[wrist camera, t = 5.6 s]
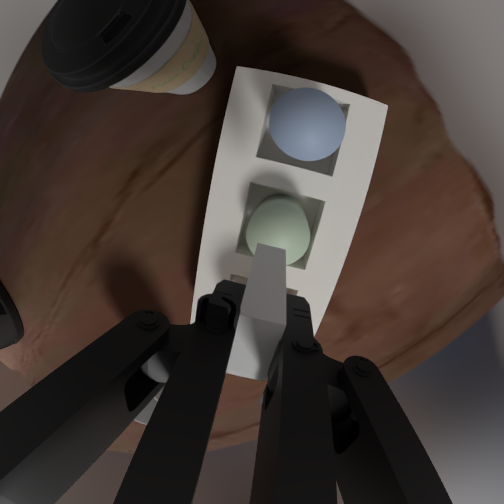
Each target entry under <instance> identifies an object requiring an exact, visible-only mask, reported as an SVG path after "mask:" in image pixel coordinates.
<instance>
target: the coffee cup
mask: <svg viewBox="0 0 504 504" xmlns="http://www.w3.org/2000/svg"><path fill="white" fill-rule="evenodd" d="M40 48H41V57H42V60H43V63H44V64H45V66H46V67H47V68H48V69H49V70H50V73H51V75H52V76H53V78H54V79H55V80H56V81H57V82H58V83H59V84H61V85H63V86H65V87H68V88H69V89H71V90H74V91H78V92H93V91H98V90H102V89H105V88H107V87H110V88H116V89H126V90H137V91H146V92H155V93H162V92H167V93H174V94H189V93H192V92H195V91H197V90H198V89H200V88H201V87H203V86H204V85H205V84H206V83H207V82H208V81H209V79H210V78H211V77H212V75H213V73H214V71H215V68H216V57H215V55H214V53H213V50H212V48H211V46H210V44H209V39H208V36H207V34H206V32H205V30H204V28H203V26H202V24H201V22H200V20H199V18H198V16H197V14H196V12H195V10H194V8H193V6H192V4H191V2H190V1H189V0H58V1H57V3H56V4H55V6H54V7H53V9H52V11H51V13H50V15H49V17H48V19H47V21H46V24H45V26H44V29H43V33H42V37H41V47H40Z"/></svg>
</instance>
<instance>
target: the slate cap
mask: <svg viewBox="0 0 504 504" xmlns="http://www.w3.org/2000/svg"><path fill="white" fill-rule="evenodd" d="M269 129H270V133H271V136H272V138H273V140H274V142H275V143H276V145H277V146H278V147H279V148H280V149H281V150H282V151H283V152H284V153H286V154H287V155H289V156H291V157H293V158H295V159H299V160H303V161H315V160H320V159H323V158H325V157H327V156H329V155H331V154H332V153H333V152H334V151H336V150H337V148H338V147H339V146H340V144H341V143H342V141H343V138H344V135H345V130H346V123H345V117H344V114H343V111H342V109H341V108H340V106H339V105H338V103H337V102H336V101H335V100H334V99H333V98H332V97H331V96H330V95H328V94H326V93H325V92H323V91H321V90H318V89H314V88H306V87H305V88H296V89H293V90H290V91H288V92H286V93H285V94H283V95H282V96H281V97H279V98H278V100H277V101H276V102H275V103H274V105H273V107H272V109H271V112H270V115H269Z"/></svg>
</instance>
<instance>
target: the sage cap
mask: <svg viewBox="0 0 504 504" xmlns="http://www.w3.org/2000/svg"><path fill="white" fill-rule="evenodd" d="M246 240H247V244H248V247H249V249H250V251H251V252H252V253H253V255H254V254H255V250H256V247H257V243H261V244H265V245H269V246H273V247H277V248H281V249H285V250H286V265H289V264H292V263H294V262H295V261H297V260H298V259H300V258H301V257H302V256H303V255H304V253H305V252H306V250H307V248H308V246H309V242H310V230H309V226H308V222H307V218H306V214H305V211H304V208H303V206H302V205H301V203H300V202H299V201H298V200H296V199H295V198H294V197H292V196H290V195H287V194H273V195H270V196H268V197H266V198H264V199H263V200H262V201H261V202H260V203H259V205H258V206H257V208H256V210H255V212H254V214H253V216H252V218H251V219H250V221H249V224H248V226H247V231H246Z"/></svg>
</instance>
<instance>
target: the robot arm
mask: <svg viewBox="0 0 504 504" xmlns="http://www.w3.org/2000/svg"><path fill="white" fill-rule="evenodd" d="M23 336H24V329H23V325H22V322H21V319H20V316H19V314H18V312H17V309H16V307H15V305H14V304H13V302H12V300H11V298H10V297H9V295H8V294H7V292H6V291H5V289H4V288H3V287H2V286H1V284H0V349H3V348H5V347H8V346H10V345H12V344H16V343H17V342H19V341H20V340H21V339H22V338H23ZM226 373H229V374H234V375H238V376H242V377H247V378H251V379H256V380H261V381H265V380H266V378H267V375H268V381H267V385H266V387H265V390H264V392H263V395H262V397H261V399H260V402H259V404H261V405H262V411H261V419H260V428H259V436H258V444H257V452H256V460H255V467H254V476H253V482H252V490H251V496H250V503H249V504H337V490H336V481H337V484H338V487H339V490H340V493H341V496H342V499H343V502H344V504H452V501H451V499H450V497H449V495H448V493H447V491H446V489H445V487H444V485H443V483H442V481H441V479H440V477H439V475H438V473H437V471H436V469H435V467H434V466H433V464H432V462H431V460H430V458H429V456H428V455H427V453H426V450H425V449H424V447H423V445H422V443H421V441H420V440H419V438H418V436H417V434H416V432H415V430H414V429H413V427H412V425H411V424H410V422H409V420H408V418H407V416H406V415H405V413H404V411H403V410H402V408H401V406H400V404H399V403H398V401H397V399H396V397H395V396H394V394H393V392H392V391H391V389H390V387H389V386H388V384H387V382H386V381H385V379H384V377H383V376H382V374H381V372H380V371H379V369H378V368H377V366H376V365H375V364H374V363H373V362H371V361H370V360H369V359H367V358H364V357H361V356H351V357H348V358H347V359H346V360H345V361H344V363H342V362H339V361H337V360H334V359H332V358H330V357H328V356H326V355H324V354H323V350H322V347H321V345H320V344H319V343H318V341H317V340H315V339H314V333H313V325H312V319H311V311H310V304H309V303H308V302H307V300H306V299H305V298H304V297H300V296H296V295H291V294H287V293H286V250H285V249H281V248H277V247H273V246H269V245H265V244H261V243H257V247H256V250H255V254H254V258H253V262H252V266H251V269H250V273H249V277H248V281H247V284H246V285H245V284H241V283H237V282H233V281H229V280H225V279H224V280H222V281H220V282H219V283H217V284H216V287H215V289H214V291H213V293H212V294H206V295H203V296H201V297H200V298H199V299H198V302H197V309H196V317H195V322H194V323H192V324H188V325H171V324H169V321H168V319H167V318H166V316H164V315H163V314H161V313H160V312H157V311H154V310H140V311H137V312H135V313H132V314H131V315H130V316H128V317H127V318H125V319H124V320H123V321H121V322H120V323H118V324H117V325H116V326H114V327H113V328H112V329H110V330H109V331H107V332H106V333H105V334H103V335H102V336H101V337H99V338H98V339H96V340H95V341H94V342H92V343H91V344H90V345H88V346H87V347H85V348H84V349H83V350H81V351H80V352H79V353H77V354H76V355H75V356H73V357H72V358H71V359H69V360H68V361H66V362H65V363H64V364H62V365H61V366H60V367H58V368H57V369H56V370H54V371H53V372H52V373H50V374H49V375H48V376H46V377H45V378H44V379H42V380H41V381H40V382H38V383H37V384H36V385H35V386H33V387H32V388H31V389H29V390H28V391H27V392H25V393H24V394H23V395H22V396H20V397H19V398H18V399H16V400H15V401H14V402H12V403H11V404H10V405H9V406H7V407H6V408H5V409H3V410H2V411H1V412H0V504H54V503H55V502H56V501H57V500H58V499H59V498H60V497H61V496H62V495H63V494H64V493H65V492H66V491H67V490H68V489H69V488H70V487H71V486H72V485H73V484H74V483H75V482H76V481H77V480H78V479H79V478H80V477H81V476H82V475H83V474H84V473H85V472H86V471H87V469H88V468H89V467H90V466H91V465H92V464H93V463H94V462H95V461H96V460H97V459H98V458H99V457H100V456H101V455H102V454H103V453H104V452H105V450H106V449H107V448H108V447H109V446H110V445H111V444H112V443H113V442H114V441H115V440H116V439H117V438H118V436H119V435H120V434H121V433H122V432H123V431H124V430H125V429H126V428H127V427H128V426H129V424H130V423H131V422H132V421H133V420H134V419H135V418H136V417H137V416H138V415H139V414H140V412H141V411H142V410H143V409H144V408H145V407H146V406H147V405H148V404H149V402H150V401H151V400H152V399H153V398H154V397H155V396H156V395H157V394H158V392H159V391H160V390H161V389H162V388H163V387H164V388H163V390H162V393H161V395H160V397H159V399H158V401H157V404H156V406H155V408H154V410H153V413H152V415H151V417H150V419H149V421H148V424H147V426H146V428H145V430H144V433H143V435H142V437H141V440H140V442H139V444H138V446H137V449H136V451H135V453H134V456H133V458H132V460H131V463H130V465H129V467H128V470H127V472H126V474H125V477H124V479H123V481H122V484H121V487H120V489H119V491H118V493H117V496H116V498H115V501H114V503H113V504H192V503H193V500H194V496H195V492H196V488H197V484H198V480H199V476H200V472H201V469H202V465H203V461H204V457H205V453H206V449H207V445H208V441H209V437H210V433H211V430H212V426H213V422H214V418H215V414H216V410H217V406H218V402H219V398H220V394H221V390H222V386H223V382H224V378H225V374H226Z"/></svg>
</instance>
